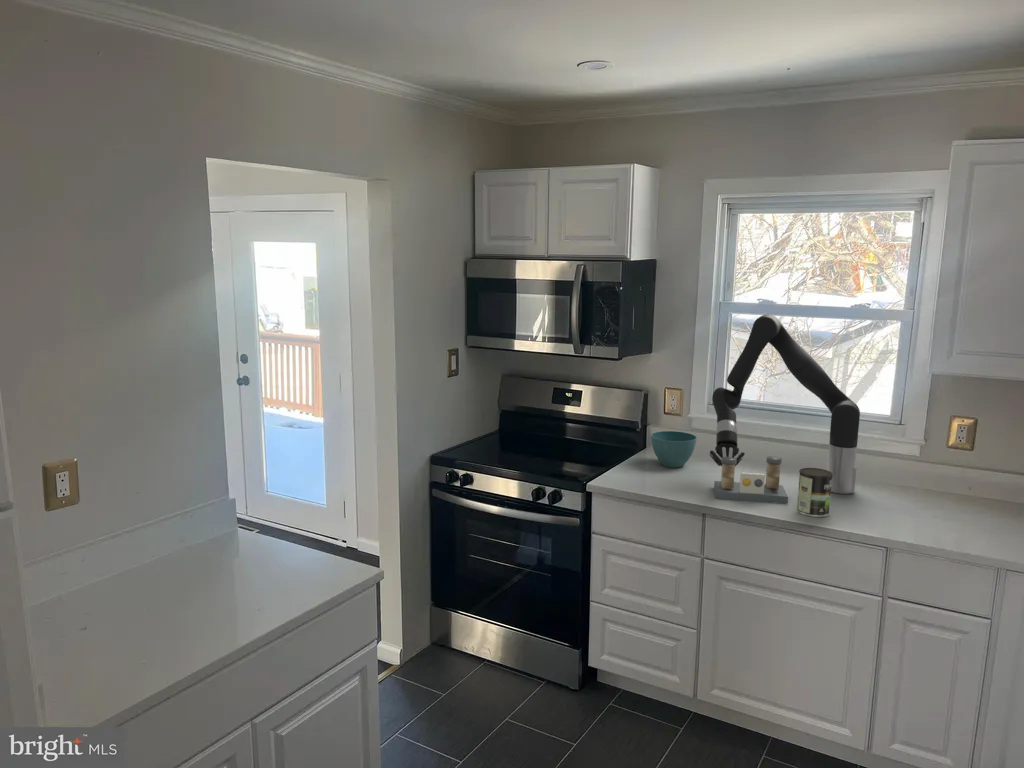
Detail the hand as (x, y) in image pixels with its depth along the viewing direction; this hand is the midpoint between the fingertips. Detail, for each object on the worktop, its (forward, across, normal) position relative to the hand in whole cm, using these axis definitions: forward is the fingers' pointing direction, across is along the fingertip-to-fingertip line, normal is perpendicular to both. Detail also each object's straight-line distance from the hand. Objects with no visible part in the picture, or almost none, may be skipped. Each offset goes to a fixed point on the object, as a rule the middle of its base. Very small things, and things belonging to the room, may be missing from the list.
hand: (727, 475), depth 267 cm
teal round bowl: (-18, -19, +27) cm, 38 cm away
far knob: (+4, 0, +1) cm, 5 cm away
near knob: (+1, +16, +4) cm, 17 cm away
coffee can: (+15, +27, -6) cm, 32 cm away
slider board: (+6, +8, +3) cm, 10 cm away
